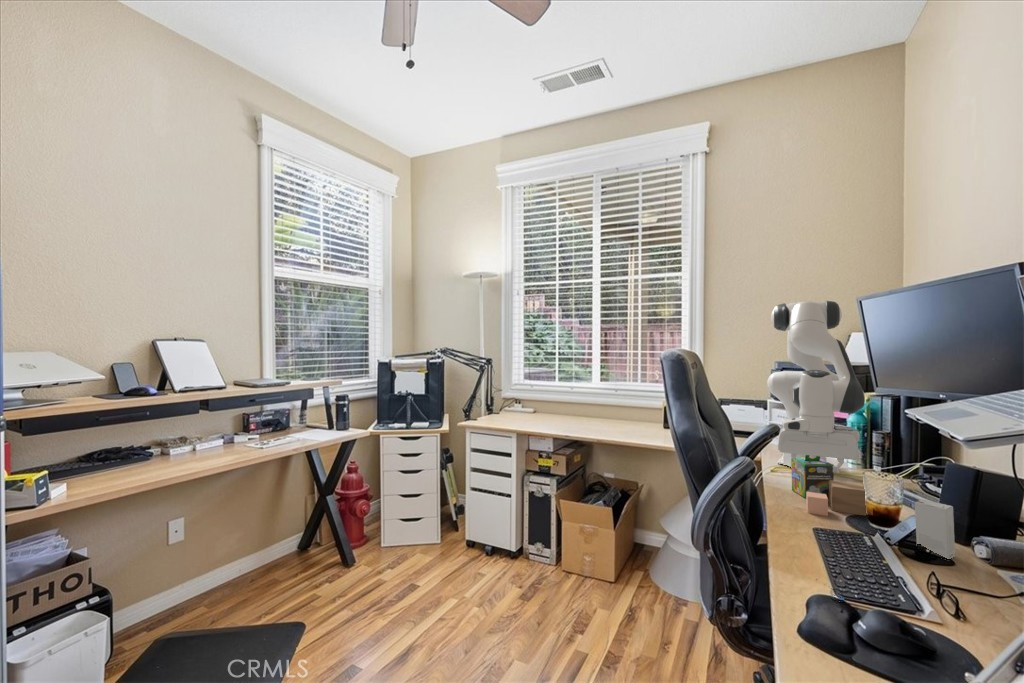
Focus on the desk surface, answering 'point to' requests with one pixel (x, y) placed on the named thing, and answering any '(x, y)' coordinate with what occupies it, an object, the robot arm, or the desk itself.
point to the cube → (817, 503)
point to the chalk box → (811, 476)
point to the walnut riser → (847, 497)
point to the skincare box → (935, 527)
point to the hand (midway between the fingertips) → (816, 470)
